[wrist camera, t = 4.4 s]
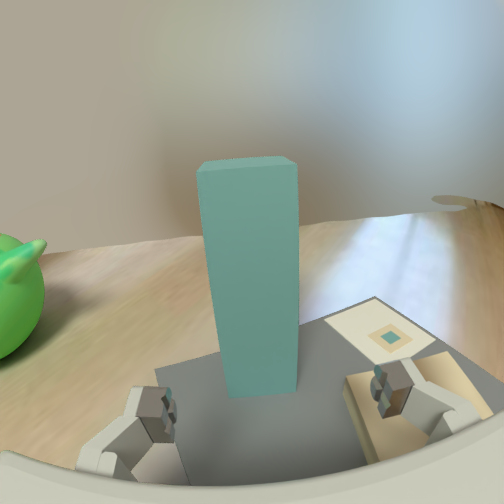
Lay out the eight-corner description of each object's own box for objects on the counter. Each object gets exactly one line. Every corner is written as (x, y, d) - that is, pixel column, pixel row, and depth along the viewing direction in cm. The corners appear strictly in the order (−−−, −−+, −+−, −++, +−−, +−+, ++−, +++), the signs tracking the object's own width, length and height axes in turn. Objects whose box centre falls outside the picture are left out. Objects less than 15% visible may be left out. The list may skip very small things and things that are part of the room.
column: (228, 398, 21) (195, 171, 15) (228, 355, 25) (204, 161, 19) (296, 391, 21) (296, 164, 15) (286, 349, 26) (281, 155, 19)
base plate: (262, 621, 5) (260, 626, 4) (157, 377, 24) (148, 351, 23) (528, 413, 14) (545, 388, 13) (373, 303, 33) (377, 280, 31)
